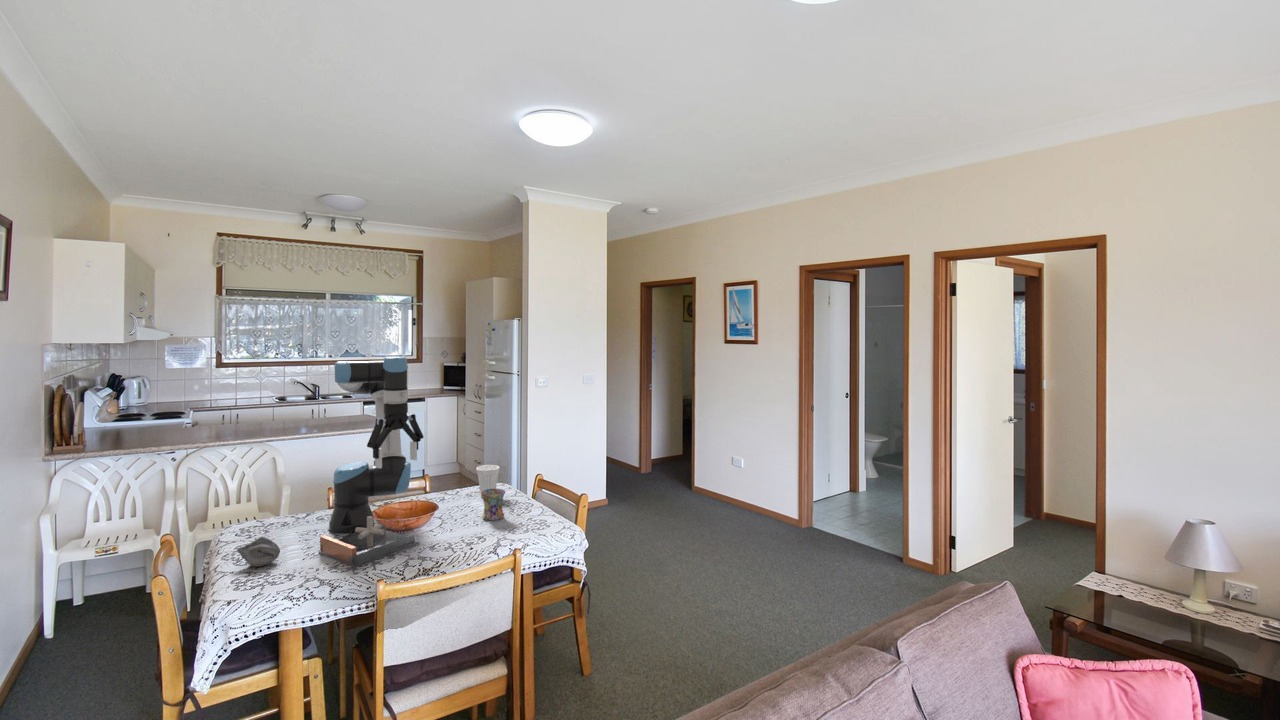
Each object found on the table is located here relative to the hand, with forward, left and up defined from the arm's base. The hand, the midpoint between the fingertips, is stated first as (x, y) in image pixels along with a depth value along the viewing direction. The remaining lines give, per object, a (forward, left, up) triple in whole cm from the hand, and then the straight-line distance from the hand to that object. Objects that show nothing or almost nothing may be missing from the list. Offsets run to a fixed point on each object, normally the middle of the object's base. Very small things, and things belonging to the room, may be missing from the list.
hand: (396, 463), depth 201 cm
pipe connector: (-5, -7, -28) cm, 29 cm away
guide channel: (-5, -7, -29) cm, 30 cm away
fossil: (-22, -34, -29) cm, 50 cm away
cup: (-16, +57, -29) cm, 66 cm away
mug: (+5, +39, -29) cm, 49 cm away
